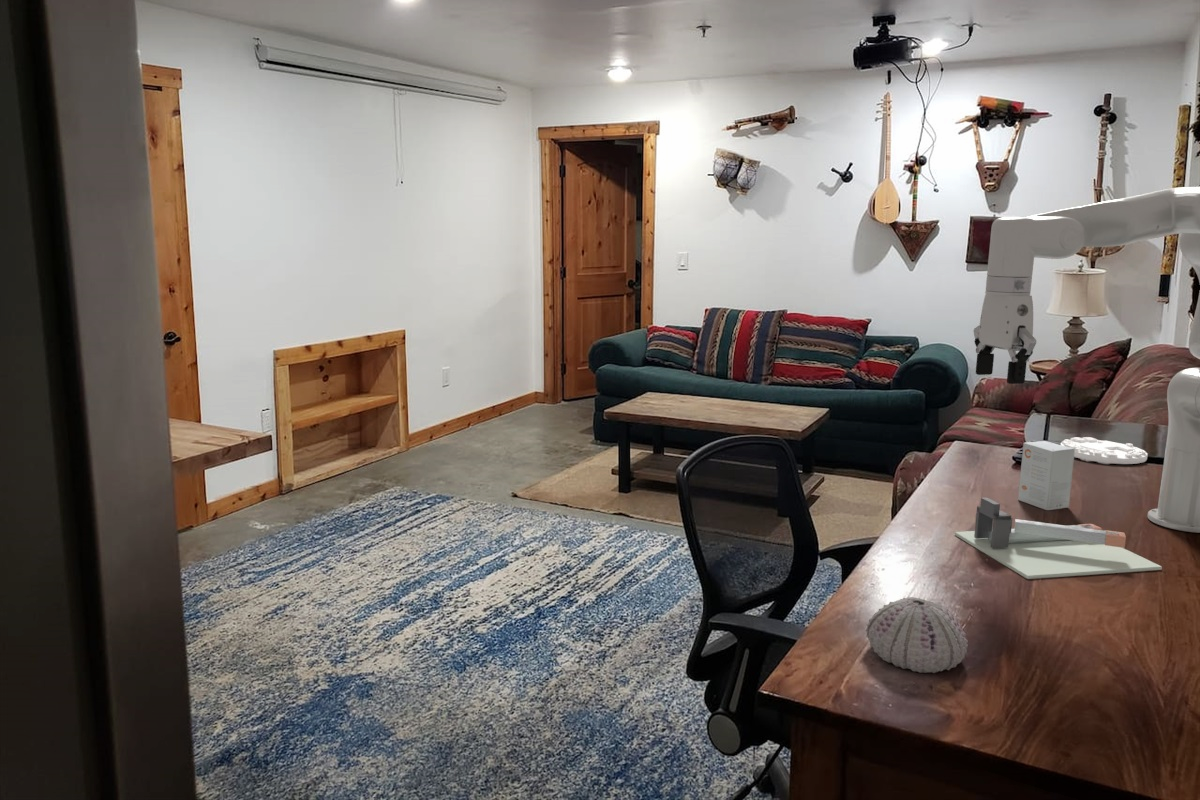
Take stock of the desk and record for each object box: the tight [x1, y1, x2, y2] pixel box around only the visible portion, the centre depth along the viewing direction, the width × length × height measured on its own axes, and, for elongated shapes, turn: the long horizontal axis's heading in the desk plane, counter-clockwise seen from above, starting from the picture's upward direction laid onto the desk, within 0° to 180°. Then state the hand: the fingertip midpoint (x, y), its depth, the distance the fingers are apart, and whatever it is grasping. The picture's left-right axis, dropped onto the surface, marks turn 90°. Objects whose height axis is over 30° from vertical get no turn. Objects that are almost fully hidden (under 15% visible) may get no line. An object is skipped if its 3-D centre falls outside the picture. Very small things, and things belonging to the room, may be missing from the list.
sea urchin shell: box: [865, 596, 969, 674], centre depth 123 cm, size 13×14×8 cm
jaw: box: [1013, 518, 1127, 549], centre depth 161 cm, size 18×3×2 cm, turn 65°
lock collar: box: [974, 497, 1012, 548], centre depth 165 cm, size 3×6×8 cm, turn 10°
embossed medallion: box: [1059, 436, 1149, 465], centre depth 233 cm, size 20×20×3 cm
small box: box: [1017, 440, 1075, 511], centre depth 190 cm, size 8×6×13 cm
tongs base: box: [988, 517, 1103, 544], centre depth 167 cm, size 22×3×6 cm, turn 100°
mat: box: [954, 524, 1163, 580], centre depth 163 cm, size 26×22×1 cm
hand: (999, 378), depth 165 cm, fingers open, 9 cm apart
